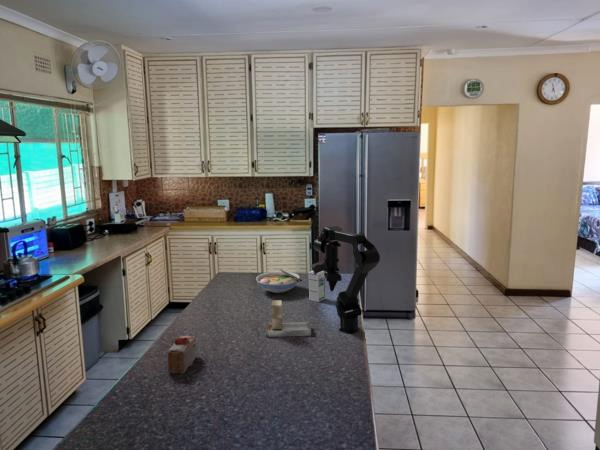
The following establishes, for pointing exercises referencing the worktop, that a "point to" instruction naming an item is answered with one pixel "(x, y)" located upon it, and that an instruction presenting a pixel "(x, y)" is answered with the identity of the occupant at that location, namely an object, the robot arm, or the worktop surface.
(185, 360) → the food item
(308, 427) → the worktop surface
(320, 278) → the syrup box
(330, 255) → the robot arm
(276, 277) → the ramen bowl
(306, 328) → the fader track
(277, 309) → the lever
